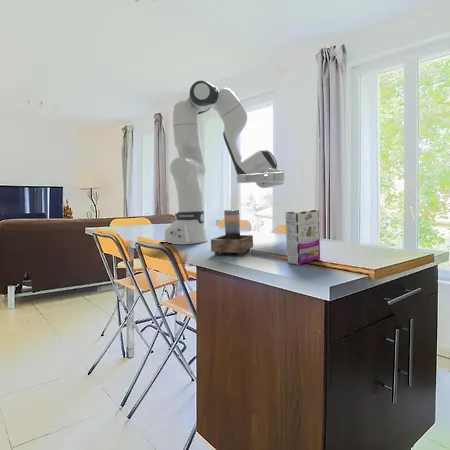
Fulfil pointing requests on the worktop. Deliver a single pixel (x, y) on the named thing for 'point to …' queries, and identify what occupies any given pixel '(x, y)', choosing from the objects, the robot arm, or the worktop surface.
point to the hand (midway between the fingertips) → (255, 177)
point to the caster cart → (232, 244)
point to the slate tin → (232, 224)
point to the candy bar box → (302, 236)
